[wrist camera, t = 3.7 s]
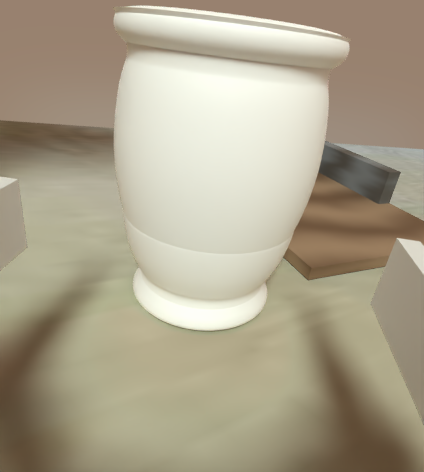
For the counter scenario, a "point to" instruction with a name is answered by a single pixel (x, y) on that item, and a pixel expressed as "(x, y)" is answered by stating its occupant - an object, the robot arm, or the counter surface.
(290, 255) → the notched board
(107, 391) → the counter surface
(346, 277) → the counter surface
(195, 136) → the jar
